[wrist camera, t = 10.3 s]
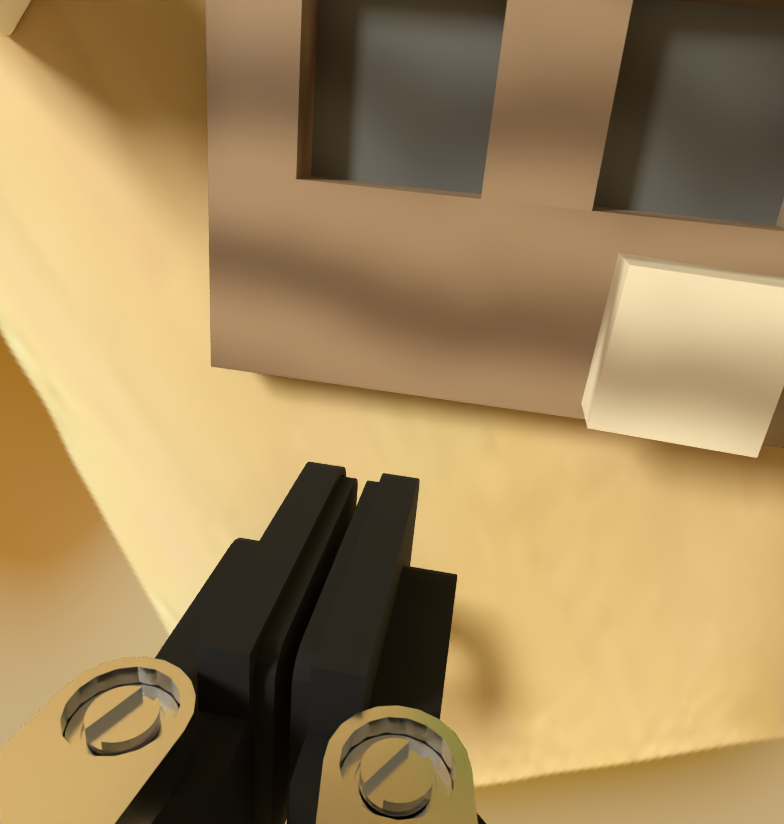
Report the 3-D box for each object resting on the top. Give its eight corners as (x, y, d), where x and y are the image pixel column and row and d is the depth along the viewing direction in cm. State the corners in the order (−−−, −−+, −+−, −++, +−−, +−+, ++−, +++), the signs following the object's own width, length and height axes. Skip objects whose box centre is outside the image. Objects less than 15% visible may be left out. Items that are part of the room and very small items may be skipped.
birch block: (618, 253, 25) (629, 264, 23) (789, 278, 24) (818, 292, 22) (581, 403, 27) (587, 428, 25) (736, 430, 27) (757, 457, 24)
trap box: (231, -61, 26) (170, -103, 21) (956, -13, 23) (1068, -50, 18) (232, 349, 32) (185, 385, 27) (801, 428, 29) (856, 483, 24)
